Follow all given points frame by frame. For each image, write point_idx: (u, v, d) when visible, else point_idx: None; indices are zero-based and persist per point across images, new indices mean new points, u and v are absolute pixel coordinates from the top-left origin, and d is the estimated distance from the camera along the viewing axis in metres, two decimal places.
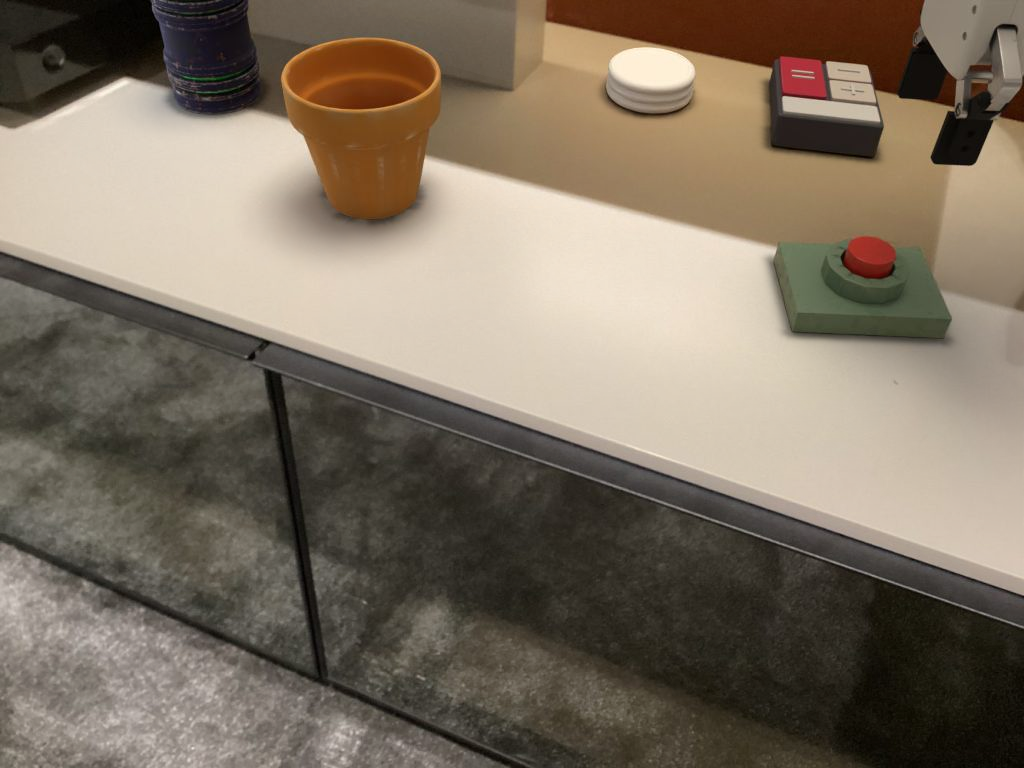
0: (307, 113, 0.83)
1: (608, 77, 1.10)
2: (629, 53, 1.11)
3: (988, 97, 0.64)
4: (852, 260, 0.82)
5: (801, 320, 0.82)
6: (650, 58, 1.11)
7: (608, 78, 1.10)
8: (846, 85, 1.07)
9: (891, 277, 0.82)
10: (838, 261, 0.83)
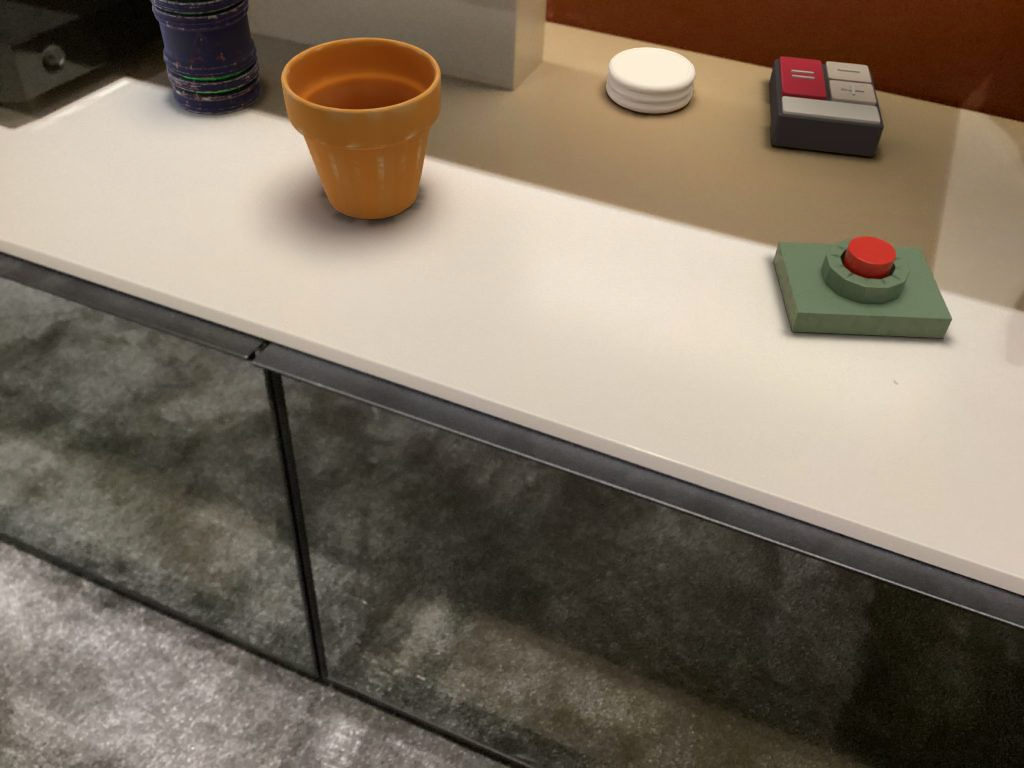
0: (307, 113, 0.83)
1: (608, 77, 1.10)
2: (629, 53, 1.11)
3: None
4: (852, 260, 0.82)
5: (801, 320, 0.82)
6: (650, 58, 1.11)
7: (608, 78, 1.10)
8: (846, 84, 1.07)
9: (891, 277, 0.82)
10: (838, 261, 0.83)
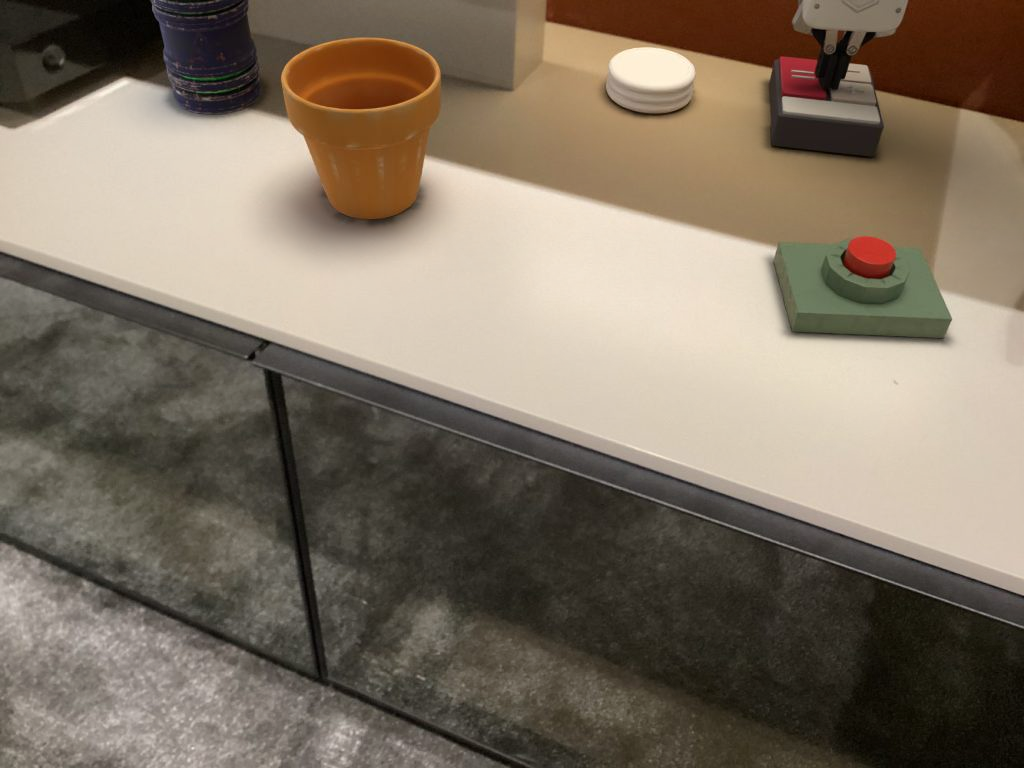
0: (307, 113, 0.83)
1: (608, 77, 1.10)
2: (629, 53, 1.11)
3: None
4: (852, 260, 0.82)
5: (801, 320, 0.82)
6: (650, 58, 1.11)
7: (608, 78, 1.10)
8: (846, 85, 1.07)
9: (891, 277, 0.82)
10: (838, 261, 0.83)
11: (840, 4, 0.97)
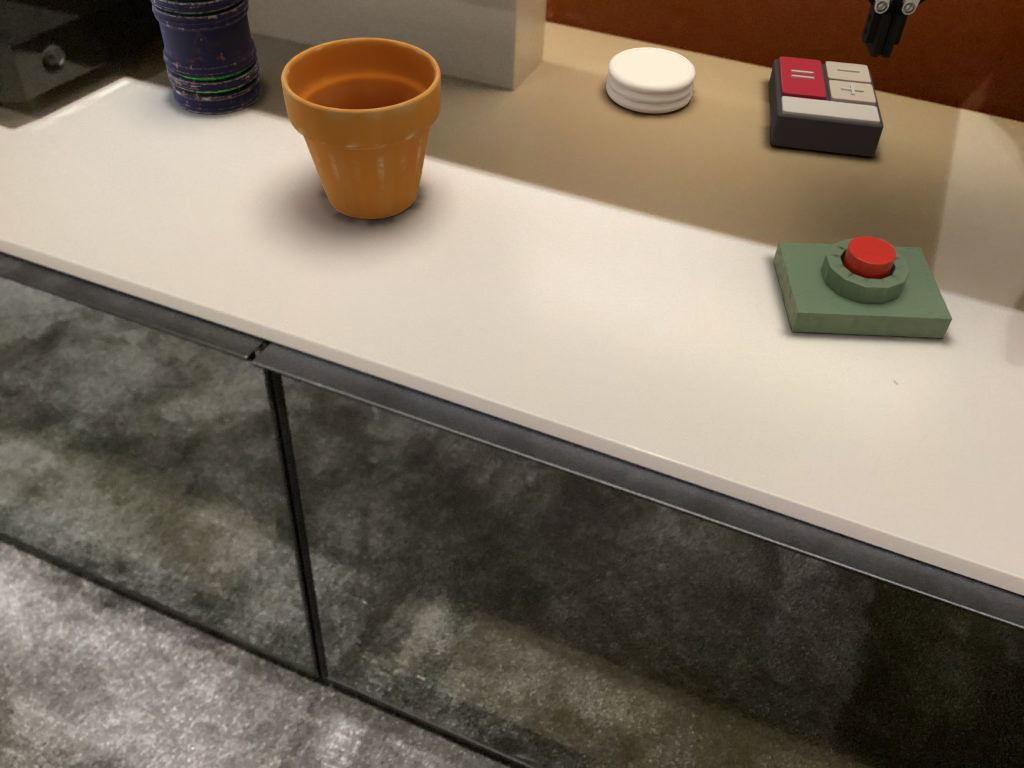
0: (307, 113, 0.83)
1: (608, 77, 1.10)
2: (629, 53, 1.11)
3: None
4: (852, 260, 0.82)
5: (801, 320, 0.82)
6: (650, 58, 1.11)
7: (608, 78, 1.10)
8: (845, 84, 1.07)
9: (891, 277, 0.82)
10: (838, 261, 0.83)
11: None
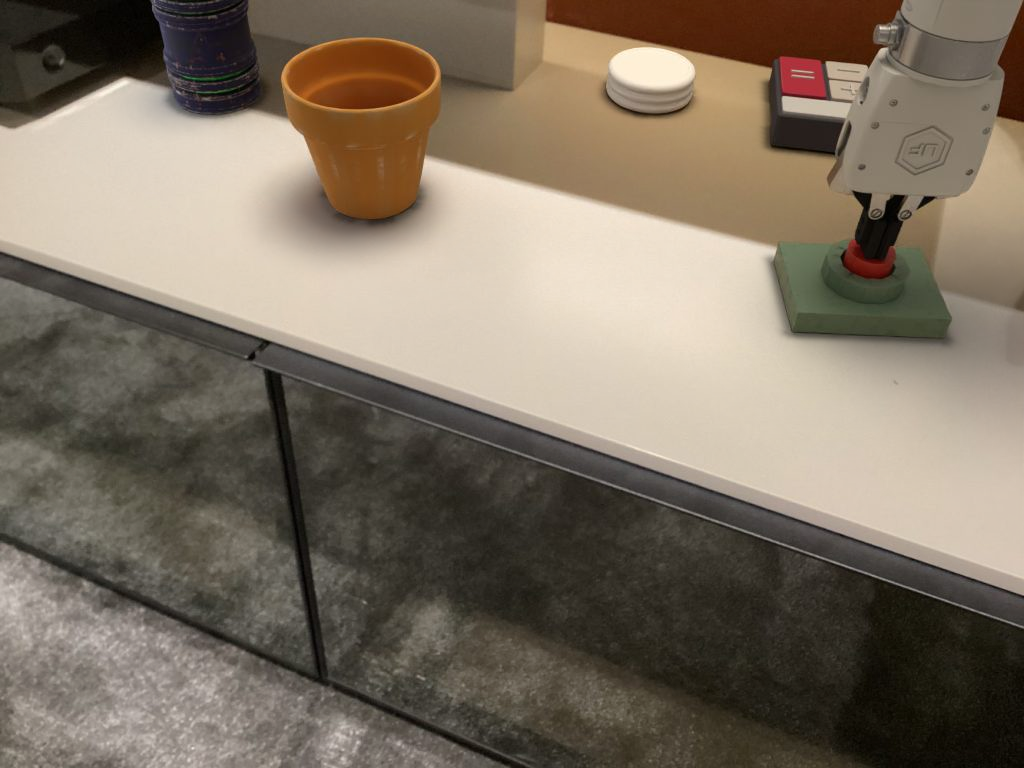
0: (307, 113, 0.83)
1: (608, 77, 1.10)
2: (629, 53, 1.11)
3: None
4: (852, 260, 0.82)
5: (801, 320, 0.82)
6: (650, 58, 1.11)
7: (608, 78, 1.10)
8: (845, 84, 1.07)
9: (891, 277, 0.82)
10: (838, 261, 0.83)
11: (893, 165, 0.73)
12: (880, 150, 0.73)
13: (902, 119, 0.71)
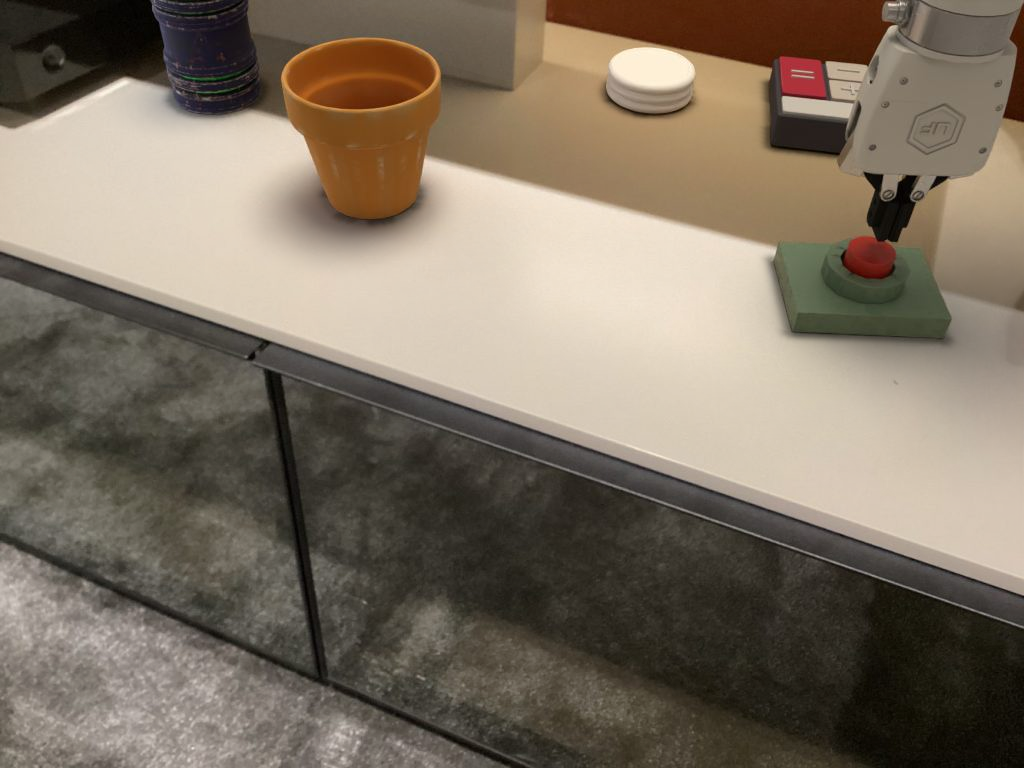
0: (307, 113, 0.83)
1: (608, 77, 1.10)
2: (629, 53, 1.11)
3: None
4: (852, 260, 0.82)
5: (801, 320, 0.82)
6: (650, 58, 1.11)
7: (608, 78, 1.10)
8: (845, 84, 1.07)
9: (891, 277, 0.82)
10: (838, 261, 0.83)
11: (904, 144, 0.72)
12: (891, 130, 0.71)
13: (913, 97, 0.70)
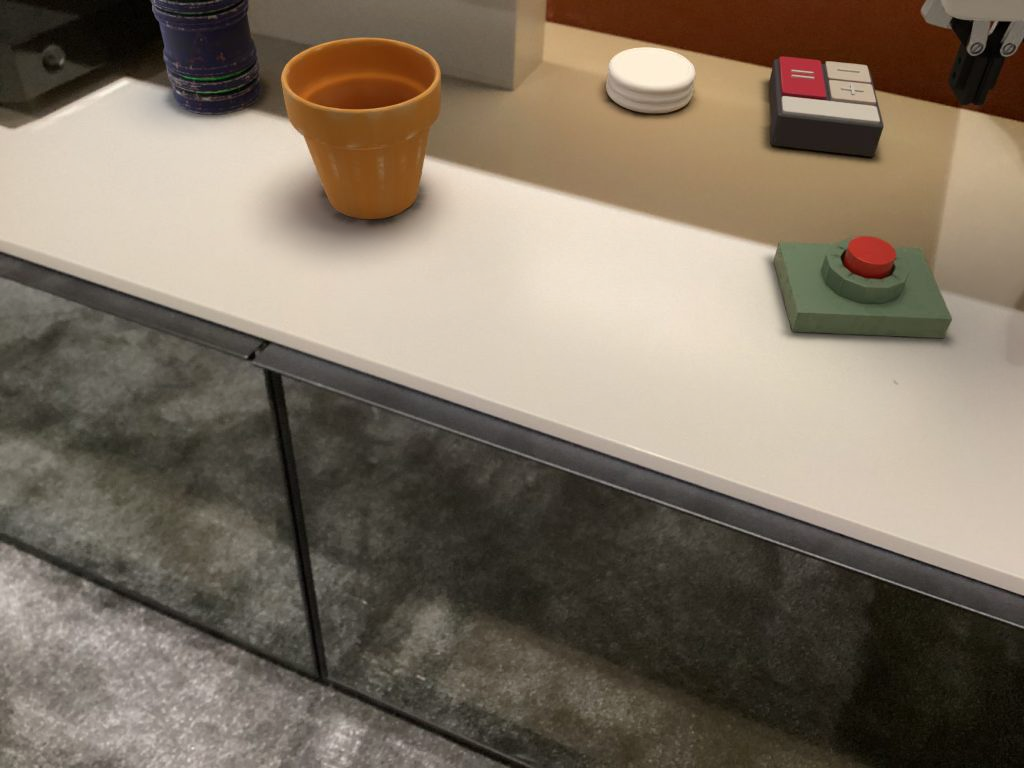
0: (307, 113, 0.83)
1: (608, 77, 1.10)
2: (629, 53, 1.11)
3: None
4: (852, 260, 0.82)
5: (801, 320, 0.82)
6: (650, 58, 1.11)
7: (608, 78, 1.10)
8: (845, 84, 1.07)
9: (891, 277, 0.82)
10: (838, 261, 0.83)
11: None
12: None
13: None
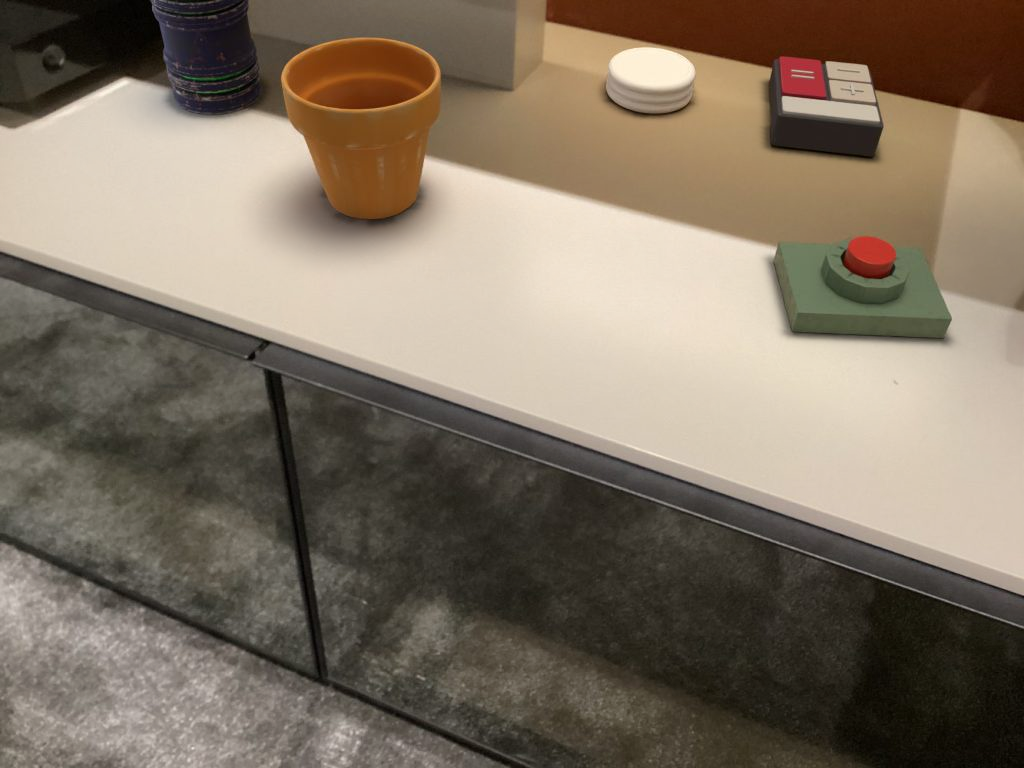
0: (307, 113, 0.83)
1: (608, 77, 1.10)
2: (629, 53, 1.11)
3: None
4: (852, 260, 0.82)
5: (801, 320, 0.82)
6: (650, 58, 1.11)
7: (608, 78, 1.10)
8: (845, 84, 1.07)
9: (891, 277, 0.82)
10: (838, 261, 0.83)
11: None
12: None
13: None
